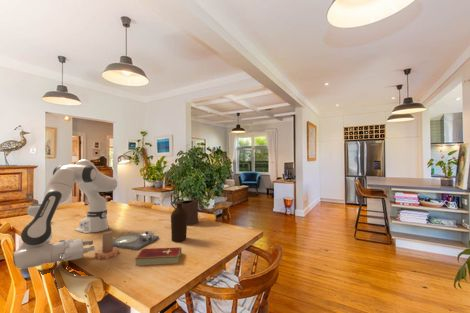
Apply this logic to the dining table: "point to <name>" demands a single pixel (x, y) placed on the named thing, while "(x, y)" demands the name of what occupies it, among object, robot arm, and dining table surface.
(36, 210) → the chalice
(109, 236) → the gear
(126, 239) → the carrier plate
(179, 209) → the olive oil
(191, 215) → the cup holder
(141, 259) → the hardcover book
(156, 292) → the dining table surface
